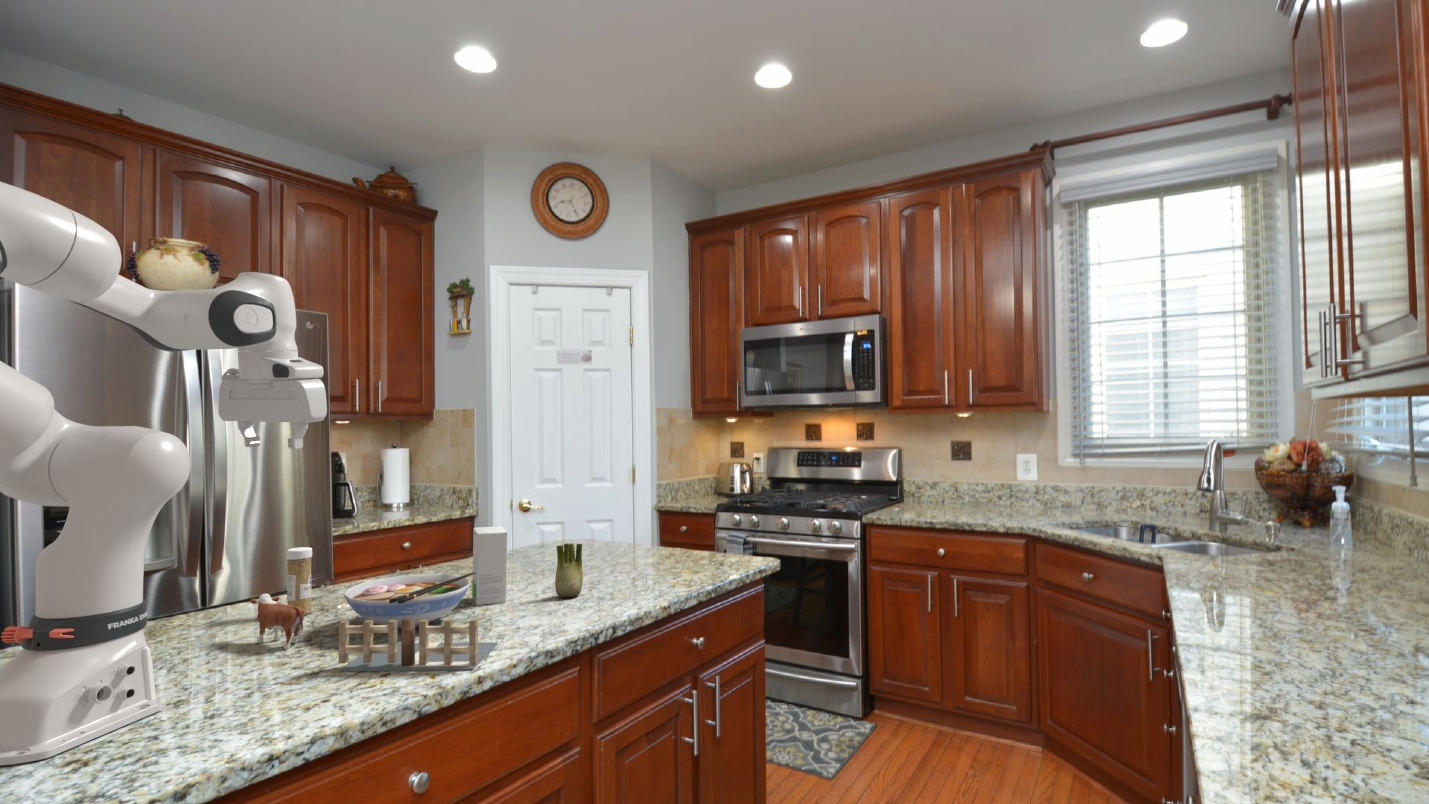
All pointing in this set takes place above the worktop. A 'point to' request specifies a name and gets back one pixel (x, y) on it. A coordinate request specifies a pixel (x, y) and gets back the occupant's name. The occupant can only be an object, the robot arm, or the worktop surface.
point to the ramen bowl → (407, 597)
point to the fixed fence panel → (448, 641)
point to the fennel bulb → (569, 570)
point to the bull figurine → (279, 618)
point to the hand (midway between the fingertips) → (273, 447)
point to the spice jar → (299, 578)
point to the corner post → (408, 642)
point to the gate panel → (367, 640)
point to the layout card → (433, 660)
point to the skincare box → (489, 565)
